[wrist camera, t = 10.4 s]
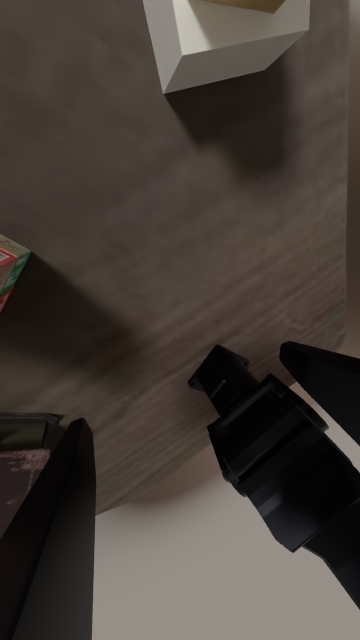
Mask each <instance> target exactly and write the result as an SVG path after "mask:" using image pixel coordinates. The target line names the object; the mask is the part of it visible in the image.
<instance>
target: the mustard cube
mask: <svg viewBox="0 0 360 640" xmlns="http://www.w3.org/2000/svg"><path fill="white" fill-rule="evenodd" d="M203 1H209V2H214V3H220V4H225V5H230V6H236V7H241V8H247V9H252V10H257V11H263V12H268V13H275V12H276V11H277V10H278V9H279V7H280V6H281V5H282V4H283V3H284V1H285V0H203Z"/></svg>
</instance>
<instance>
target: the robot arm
mask: <svg viewBox="0 0 360 640" xmlns="http://www.w3.org/2000/svg"><path fill="white" fill-rule="evenodd" d="M217 349H218V350H217ZM279 358H280V361H281V362H282V364H283V365H284V366H285V367H286V368H287V370H288V371H289V372H290V373H291V375H292V376H293V377H294V378H295V379H296V381H297V382H298V383H299V384H300V385H301V387H302V388H303V389H304V390H305V391H306V392H307V393H308V394H309V395H310V396H311V397H312V398H313V399H314V400H315V401H316V402H317V403H318V404H319V405H320V406H321V407H322V408H323V409H324V410H325V411H326V412H327V413H328V414H329V415H330V416H331V417H332V418H333V419H334V420H335V421H336V422H337V423H338V424H339V425H340V426H341V428H343V430H344V431H345V432H346V433H347V434H348V435H349V436H350V437H351V438H352V439H353V440H354V441H355V442H356V443H357V444H358V445H359V446H360V359H359V358H355V357H351V356H347V355H343V354H339V353H335V352H332V351H328V350H324V349H320V348H316V347H312V346H308V345H304V344H300V343H296V342H292V341H287V342H285V343H282V344H281V347H280V355H279ZM248 365H249V361H248V360H247V359H245V358H243V357H241V356H239V355H237V354H235V353H234V352H232V351H230V350H228V349H226V348H224V347H222V346H220V345H216V346H215V347H214V348H213V350H212V351H211V352H210V353H209V355H208V356H207V357H206V359H205V360H204V361H203V363H202V364H201V365H200V367H199V368H198V369H197V371H196V372H195V373H194V375H193V376H192V377H191V379H190V380H189V381H188V385H189V387H190V388H193V389H196V390H200V391H203V392H205V393H206V395H207V396H208V398H209V399H210V401H211V402H212V404H213V406H214V407H215V409H216V411H217V412H218V414H219V415H220V417H219V418H218V419H217V420H216V421H215V422H213V423H212V424H210V425H208V426H207V429H208V432H209V437H210V439H211V442H212V445H213V448H214V451H215V454H216V457H217V460H218V462H219V465H220V468H221V470H222V474H223V477H224V479H225V480H226V481H227V482H229V483H231V484H232V485H233V487H234V488H235V489H236V490H237V491H238V493H239V494H241V495H242V496H243V497H246V496H247V497H248V498H249V499H250V501H251V502H252V503H253V505H254V506H255V507H256V509H257V511H258V512H259V514H260V515H261V517H262V518H263V520H264V522H265V523H266V525H267V526H268V528H269V530H270V531H271V533H272V535H273V536H274V538H275V539H276V540H277V541H278V542H279V543H280V544H282V545H283V546H284V547H285V548H287V549H288V550H289V551H291V552H293V553H294V552H295V551H297V550H298V549H299V548H300V547H303V548H305V549H307V550H309V551H310V552H312V553H313V554H315V555H317V556H319V557H320V558H322V559H323V560H324V562H325V563H326V564H327V566H328V567H329V568H330V570H331V571H332V572H333V574H334V575H335V576H336V578H337V579H338V580H339V582H340V583H341V585H342V586H343V587H344V589H345V590H346V592H347V593H348V594H349V596H350V597H351V599H352V600H353V601H354V603H355V604H356V605H357V607H358V608H359V609H360V473H359V471H358V470H357V469H356V468H355V467H354V466H353V465H352V462H351V461H350V459H349V458H348V457H347V456H346V455H345V454H344V453H343V452H342V451H341V450H340V449H339V448H338V447H337V446H336V444H335V443H334V442H333V441H332V440H331V439H330V438H329V437H328V436H327V435H326V434H325V433H324V432H325V431H326V430H327V429H328V428H329V427H328V425H327V424H326V422H325V421H324V420H323V419H322V418H321V417H320V416H319V414H317V412H316V411H315V410H314V409H313V408H311V406H310V405H308V404H307V403H306V402H305V401H304V400H303V399H302V398H301V397H300V396H298V395H297V394H296V393H295V392H293V391H292V390H291V389H290V388H288V387H287V386H286V385H285V384H283V383H282V382H281V381H280V380H278V379H277V378H276V377H275V376H273V375H272V374H271V373H270V374H268V375H267V376H266V378H265V379H264V380H263V381H262V382H260V383H259V382H258V381H257V380H256V379H255V377H254V376H253V375H252V374H251V373H250V372H249V371H248V370H247V369H246V367H247V366H248ZM95 507H96V470H95V458H94V445H93V435H92V431H91V429H90V427H89V426H88V424H87V422H86V420H85V419H84V418H80V419H77V420H74V421H72V422H71V423H70V424H69V426H68V428H67V429H66V431H65V433H64V434H63V436H62V438H61V439H60V441H59V443H58V444H57V446H56V448H55V449H54V451H53V453H52V454H51V456H50V458H49V459H48V461H47V463H46V464H45V466H44V468H43V469H42V471H41V473H40V474H39V476H38V477H37V479H36V481H35V482H34V484H33V486H32V487H31V489H30V491H29V492H28V494H27V496H26V497H25V499H24V501H23V502H22V504H21V506H20V507H19V509H18V511H17V512H16V514H15V516H14V517H13V519H12V521H11V522H10V524H9V526H8V527H7V529H6V531H5V532H4V534H3V536H2V537H1V539H0V640H92V612H93V607H92V606H93V576H94V542H95V541H94V540H95Z"/></svg>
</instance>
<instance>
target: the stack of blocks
mask: <svg viewBox="0 0 360 640" xmlns="http://www.w3.org/2000/svg"><path fill="white" fill-rule="evenodd" d="M30 254H31V251H30V250H29V249H27V248H25V247H23V246H21V245H19V244H17V243H16V242H14V241H12V240H10V239H8V238H6V237H4V236H3V235H1V234H0V313H1V311H2V309H3V307H4V305H5V303H6V301H7V300H8V297H9V296H10V294H11V292H12V290H13V287H14V284H15V282H16V280H17V278H18V276H19V274H20V273H21V271H22V269H23V267H24V265H25V263H26V261H27V259H28V257H29V256H30Z"/></svg>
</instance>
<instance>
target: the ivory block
mask: <svg viewBox="0 0 360 640" xmlns="http://www.w3.org/2000/svg"><path fill="white" fill-rule="evenodd" d="M143 4H144V9H145V13H146V18H147V22H148V27H149V31H150V36H151V40H152V45H153V50H154V54H155V59H156V63H157V68H158V72H159V77H160V81H161V86H162V90H163V94H165V93H169V92H174V91H178V90H182V89H186V88H191V87H195V86H199V85H204V84H208V83H212V82H216V81H221V80H225V79H229V78H233V77H238V76H242V75H246V74H250V73H255V72H259V71H263V70H265V69H266V68H267V67H269V66H270V65H271V64H272V63H273V62H274V61H275V60H276V59H277V58H278V57H279V56H281V55H282V54H283V53H284V52H285V51H286V50H287V49H288V48H289V47H290V46H291V45H293V44H294V43H295V42H296V41H297V40H298V39H299V38H300V37H301V36H302V35H303V34H305V33H306V32H307V31H308V30H309V14H310V0H285V1H284V3H283V4H282V5H281V6H280V7H279V9H278V10H277V11H276V12H275V13H268V12H263V11H257V10H252V9H247V8H241V7H236V6H230V5H225V4H220V3H214V2H209V1H203V0H143Z"/></svg>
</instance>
